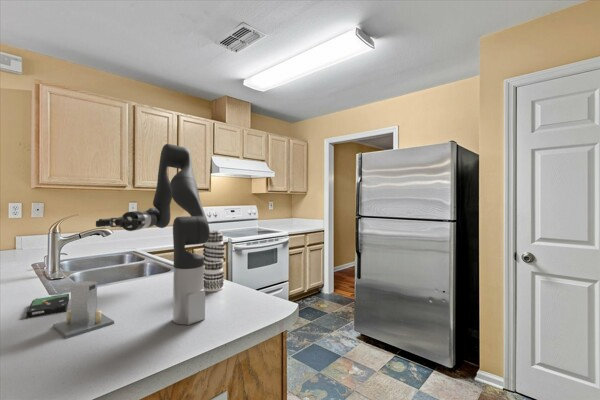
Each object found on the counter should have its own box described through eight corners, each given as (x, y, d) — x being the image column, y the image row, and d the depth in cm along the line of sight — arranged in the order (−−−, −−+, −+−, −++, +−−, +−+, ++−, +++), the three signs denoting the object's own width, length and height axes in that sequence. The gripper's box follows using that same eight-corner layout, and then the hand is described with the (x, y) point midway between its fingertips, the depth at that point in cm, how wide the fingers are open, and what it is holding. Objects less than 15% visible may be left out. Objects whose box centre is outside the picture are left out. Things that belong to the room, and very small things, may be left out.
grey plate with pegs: (114, 323, 90) (114, 309, 90) (66, 338, 80) (66, 322, 80) (98, 314, 97) (98, 301, 97) (53, 326, 87) (53, 312, 87)
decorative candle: (215, 292, 120) (216, 232, 120) (197, 290, 124) (198, 231, 123) (228, 286, 129) (229, 230, 129) (211, 284, 132) (212, 229, 132)
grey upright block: (96, 319, 91) (97, 281, 91) (87, 325, 87) (87, 285, 87) (80, 319, 91) (80, 281, 91) (70, 325, 87) (70, 285, 87)
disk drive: (67, 313, 99) (69, 300, 111) (67, 305, 99) (69, 292, 111) (26, 320, 93) (32, 306, 105) (26, 312, 93) (32, 298, 105)
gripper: (119, 211, 116) (88, 212, 100) (154, 211, 116) (129, 213, 100) (118, 229, 116) (88, 234, 100) (154, 230, 116) (129, 235, 100)
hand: (109, 224), depth 100 cm, fingers open, 8 cm apart
